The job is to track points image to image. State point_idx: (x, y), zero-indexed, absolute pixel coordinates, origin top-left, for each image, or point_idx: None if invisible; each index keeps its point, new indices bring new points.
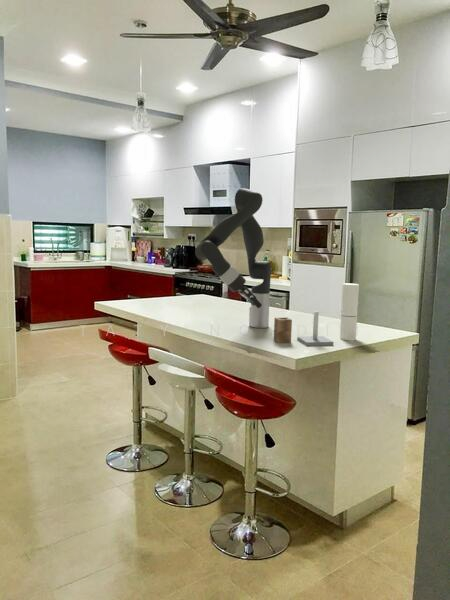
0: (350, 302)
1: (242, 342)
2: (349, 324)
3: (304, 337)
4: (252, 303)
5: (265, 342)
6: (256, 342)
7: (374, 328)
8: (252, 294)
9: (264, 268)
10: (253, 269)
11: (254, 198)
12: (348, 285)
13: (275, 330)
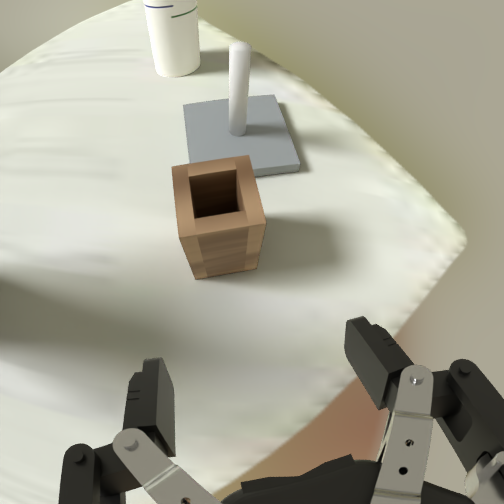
0: None
1: (269, 426)
2: (197, 27)
3: (209, 157)
4: (171, 402)
5: (256, 322)
6: (261, 364)
7: (75, 32)
8: (498, 402)
9: None
10: None
11: None
12: None
13: (214, 259)
